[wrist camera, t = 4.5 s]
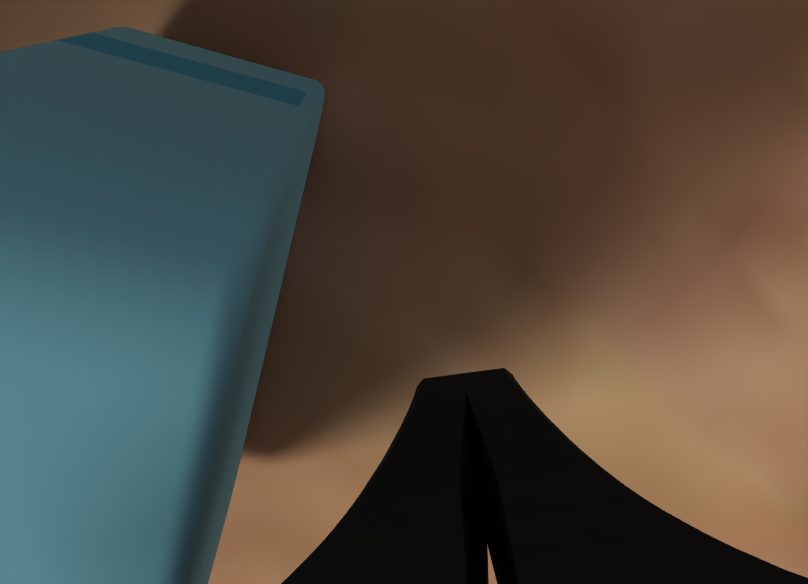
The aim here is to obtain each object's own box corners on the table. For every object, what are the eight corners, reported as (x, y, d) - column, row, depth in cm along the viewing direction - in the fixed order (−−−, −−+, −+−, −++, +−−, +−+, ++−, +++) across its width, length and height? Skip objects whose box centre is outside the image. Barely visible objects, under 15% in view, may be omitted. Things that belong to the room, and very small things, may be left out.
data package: (134, 18, 17) (-314, 105, 6) (331, 73, 18) (258, 245, 7) (74, 456, 21) (-249, 975, 10) (233, 488, 22) (92, 1010, 11)
